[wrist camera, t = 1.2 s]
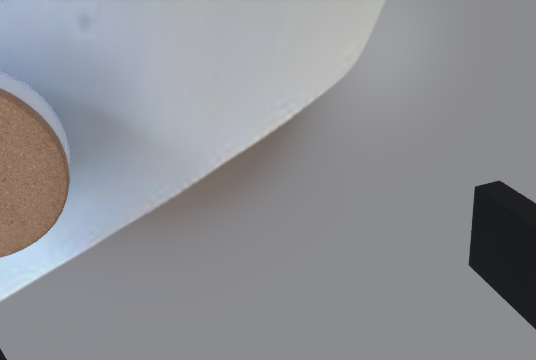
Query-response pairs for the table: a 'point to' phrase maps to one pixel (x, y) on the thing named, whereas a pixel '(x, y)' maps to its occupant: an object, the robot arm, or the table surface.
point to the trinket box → (29, 165)
